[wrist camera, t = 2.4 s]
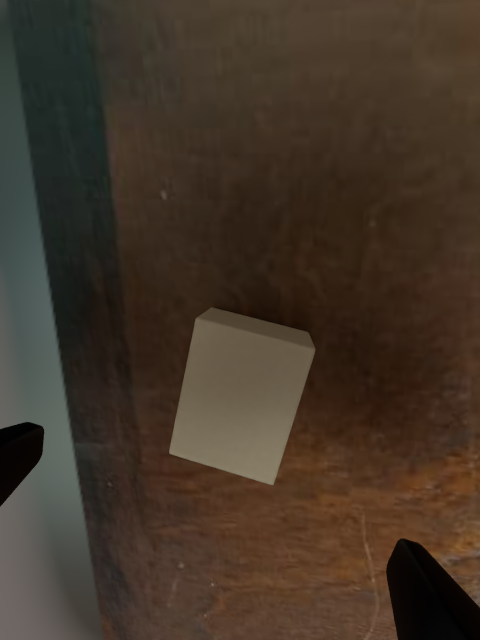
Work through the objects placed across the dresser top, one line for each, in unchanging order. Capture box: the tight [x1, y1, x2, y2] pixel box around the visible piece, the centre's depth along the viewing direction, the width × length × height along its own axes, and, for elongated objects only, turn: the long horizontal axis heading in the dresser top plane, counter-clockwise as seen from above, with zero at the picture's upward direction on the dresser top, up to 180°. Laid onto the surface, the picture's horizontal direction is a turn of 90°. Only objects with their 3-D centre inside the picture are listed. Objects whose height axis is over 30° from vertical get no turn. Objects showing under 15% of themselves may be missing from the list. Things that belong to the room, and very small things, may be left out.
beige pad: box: [169, 308, 315, 485], centre depth 12 cm, size 4×6×2 cm
